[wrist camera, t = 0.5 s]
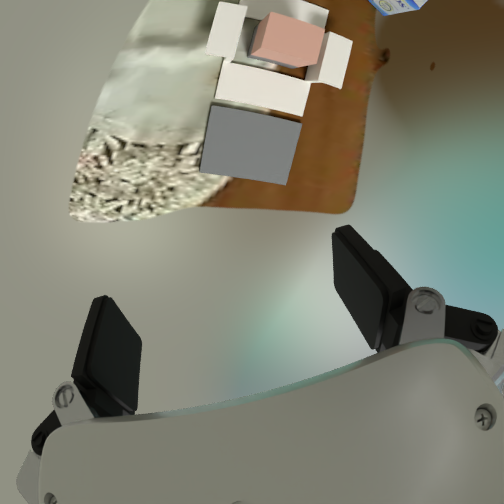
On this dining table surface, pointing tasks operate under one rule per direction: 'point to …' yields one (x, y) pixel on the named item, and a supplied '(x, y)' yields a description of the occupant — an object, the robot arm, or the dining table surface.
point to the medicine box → (396, 5)
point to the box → (286, 41)
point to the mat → (249, 145)
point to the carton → (267, 82)
